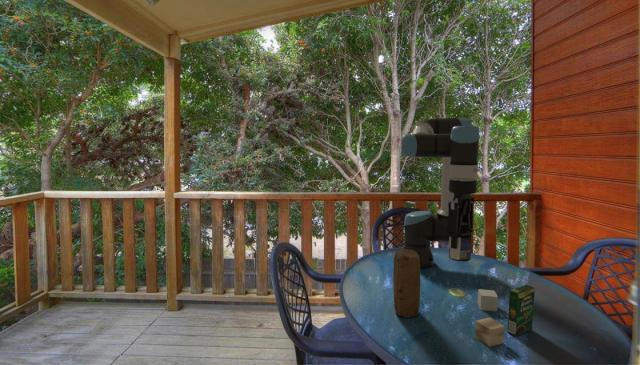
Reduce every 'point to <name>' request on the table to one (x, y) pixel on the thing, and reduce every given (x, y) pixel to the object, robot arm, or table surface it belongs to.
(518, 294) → the coffee box
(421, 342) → the table surface
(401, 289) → the block
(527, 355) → the table surface
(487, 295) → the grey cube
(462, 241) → the pill bottle
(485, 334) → the birch cube
